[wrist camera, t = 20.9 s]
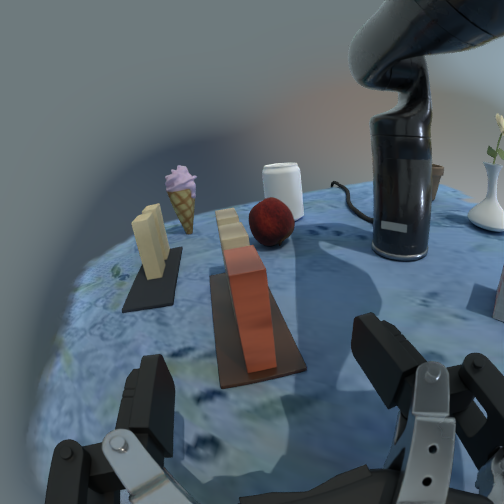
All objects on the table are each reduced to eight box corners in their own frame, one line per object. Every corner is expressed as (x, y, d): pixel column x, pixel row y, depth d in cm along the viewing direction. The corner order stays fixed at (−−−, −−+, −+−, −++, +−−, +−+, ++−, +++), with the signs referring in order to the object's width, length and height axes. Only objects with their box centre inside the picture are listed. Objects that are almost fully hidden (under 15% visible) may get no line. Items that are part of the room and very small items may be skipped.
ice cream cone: (207, 226, 62) (196, 161, 56) (203, 235, 56) (190, 163, 50) (180, 230, 62) (167, 167, 56) (172, 239, 56) (158, 170, 50)
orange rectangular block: (239, 339, 24) (222, 250, 21) (265, 334, 25) (253, 244, 21) (247, 373, 20) (228, 275, 17) (276, 367, 21) (266, 268, 17)
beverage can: (298, 224, 55) (293, 165, 50) (262, 223, 58) (255, 168, 54) (307, 213, 62) (303, 161, 57) (274, 213, 65) (269, 163, 60)
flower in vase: (486, 238, 37) (489, 105, 27) (457, 219, 47) (457, 107, 37) (521, 235, 35) (526, 118, 25) (493, 218, 45) (494, 116, 36)
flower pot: (443, 197, 65) (444, 164, 61) (442, 205, 58) (443, 168, 54) (409, 193, 73) (409, 161, 69) (403, 200, 65) (403, 163, 61)
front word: (210, 278, 38) (197, 212, 34) (259, 268, 39) (250, 203, 35) (221, 389, 19) (191, 289, 16) (307, 370, 20) (305, 267, 17)
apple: (284, 233, 51) (280, 191, 48) (304, 246, 44) (301, 198, 41) (247, 242, 49) (241, 198, 46) (262, 257, 42) (255, 206, 39)
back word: (147, 255, 50) (136, 207, 46) (182, 248, 50) (172, 200, 47) (122, 312, 31) (98, 244, 28) (173, 305, 32) (153, 232, 29)
